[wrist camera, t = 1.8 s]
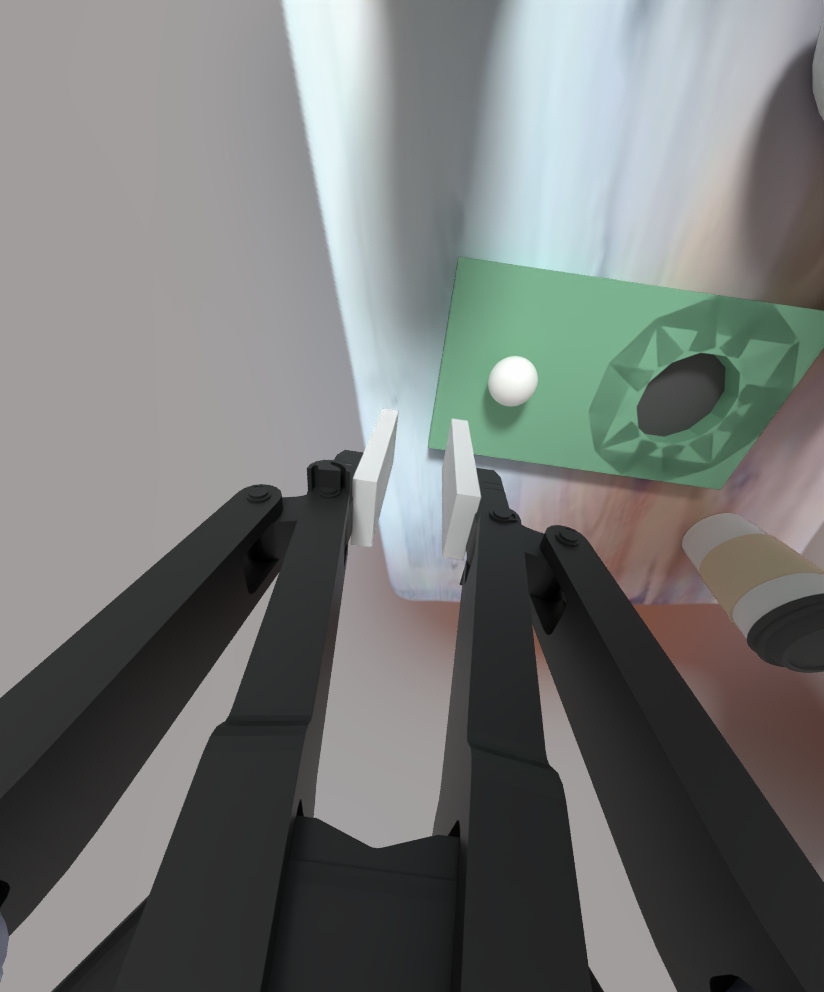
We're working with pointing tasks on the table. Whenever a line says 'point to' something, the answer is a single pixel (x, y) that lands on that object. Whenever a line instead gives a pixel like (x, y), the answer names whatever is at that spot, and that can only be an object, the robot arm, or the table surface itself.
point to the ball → (512, 381)
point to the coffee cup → (762, 589)
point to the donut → (819, 72)
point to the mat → (618, 372)
